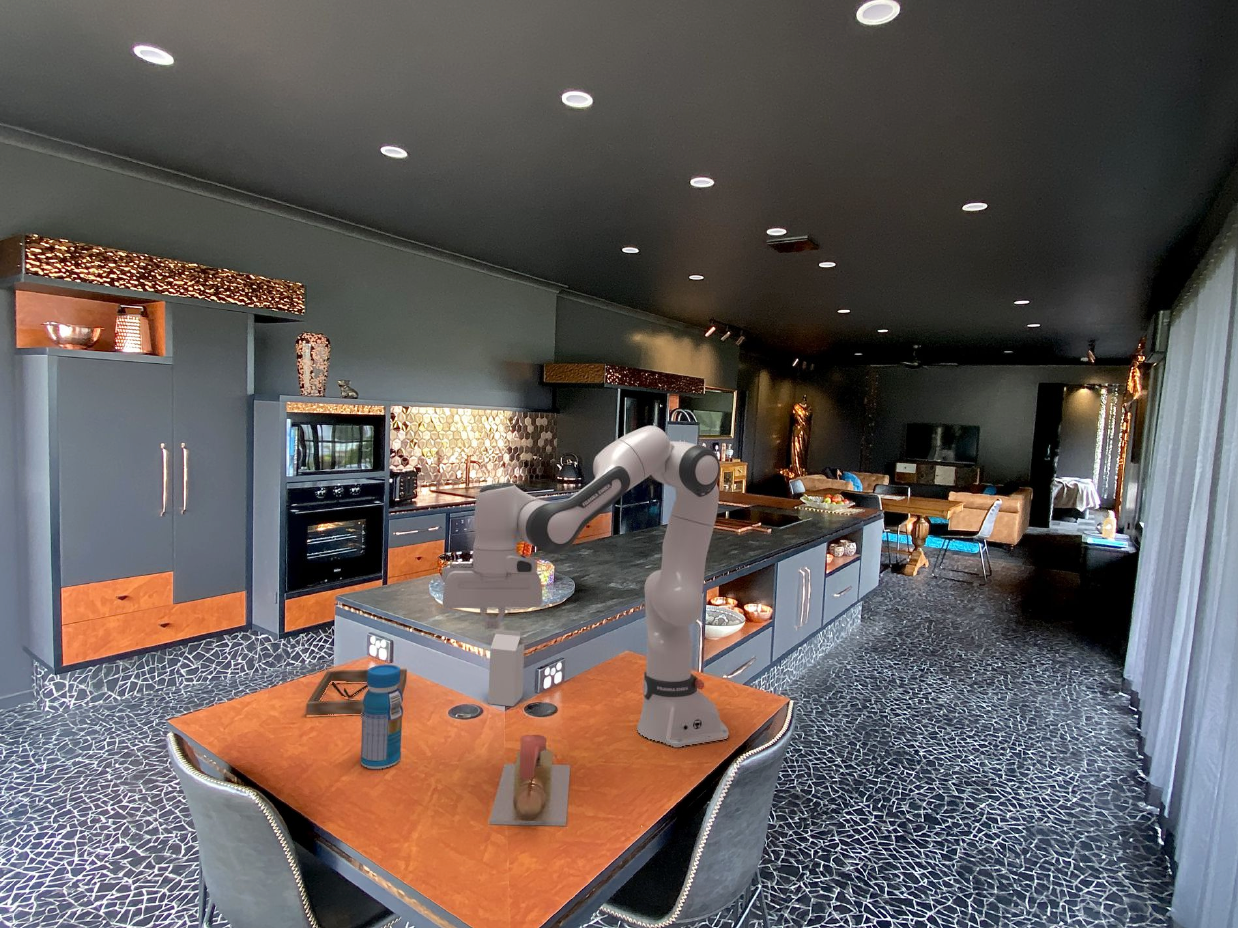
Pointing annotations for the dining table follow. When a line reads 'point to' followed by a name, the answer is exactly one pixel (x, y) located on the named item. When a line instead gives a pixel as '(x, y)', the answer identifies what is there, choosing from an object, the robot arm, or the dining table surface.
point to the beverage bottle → (382, 718)
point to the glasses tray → (345, 705)
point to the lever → (530, 754)
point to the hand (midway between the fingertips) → (491, 628)
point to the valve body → (532, 794)
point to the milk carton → (506, 668)
